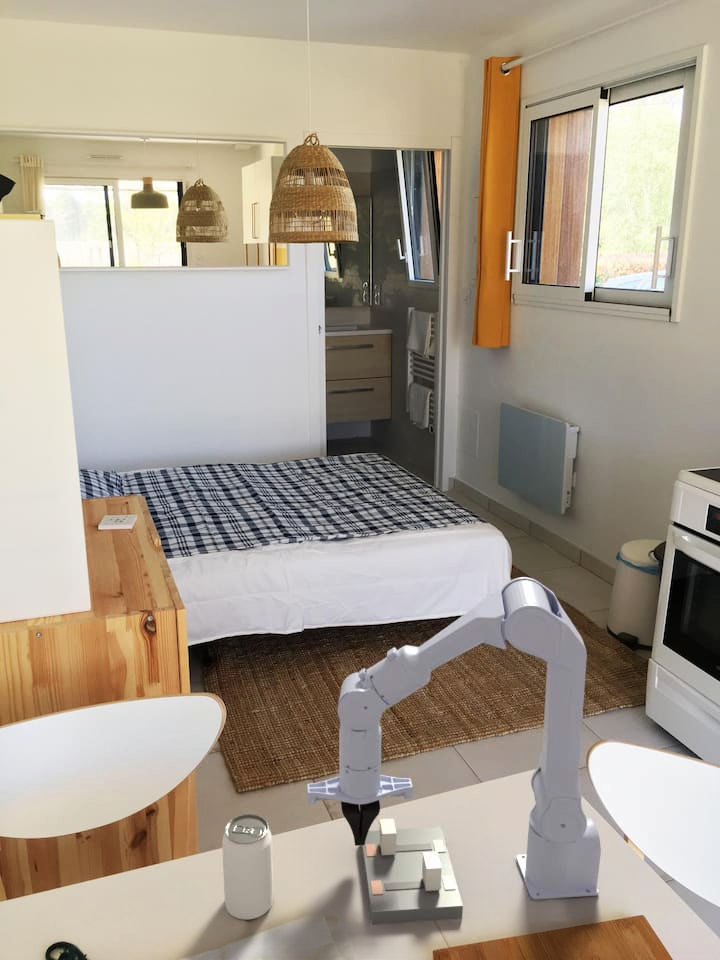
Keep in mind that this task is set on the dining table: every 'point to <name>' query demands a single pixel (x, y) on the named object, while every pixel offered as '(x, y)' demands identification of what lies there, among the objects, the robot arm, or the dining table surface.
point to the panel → (409, 878)
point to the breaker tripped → (387, 837)
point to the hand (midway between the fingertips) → (359, 840)
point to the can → (248, 866)
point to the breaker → (431, 871)
